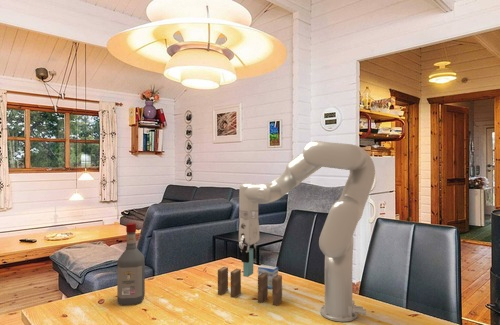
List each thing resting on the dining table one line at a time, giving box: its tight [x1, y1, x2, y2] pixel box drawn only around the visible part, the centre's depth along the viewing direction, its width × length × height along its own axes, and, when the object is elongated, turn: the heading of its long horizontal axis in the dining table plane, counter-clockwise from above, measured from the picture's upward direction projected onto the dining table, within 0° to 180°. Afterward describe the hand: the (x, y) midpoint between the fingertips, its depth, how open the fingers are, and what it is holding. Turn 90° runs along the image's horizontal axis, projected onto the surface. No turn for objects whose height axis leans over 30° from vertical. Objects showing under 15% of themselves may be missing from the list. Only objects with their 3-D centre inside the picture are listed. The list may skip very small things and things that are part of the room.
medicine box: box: [257, 264, 279, 290], centre depth 148 cm, size 8×4×9 cm, turn 62°
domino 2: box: [230, 268, 242, 299], centre depth 139 cm, size 2×5×10 cm, turn 154°
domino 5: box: [271, 274, 283, 307], centre depth 131 cm, size 2×5×10 cm, turn 154°
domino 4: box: [257, 273, 269, 304], centre depth 134 cm, size 2×5×10 cm, turn 154°
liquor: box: [116, 222, 146, 307], centre depth 133 cm, size 9×9×30 cm
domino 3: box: [242, 248, 254, 278], centre depth 136 cm, size 2×5×10 cm, turn 154°
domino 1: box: [217, 266, 229, 296], centre depth 141 cm, size 2×5×10 cm, turn 154°
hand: (248, 259), depth 136 cm, fingers closed on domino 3, 4 cm apart
